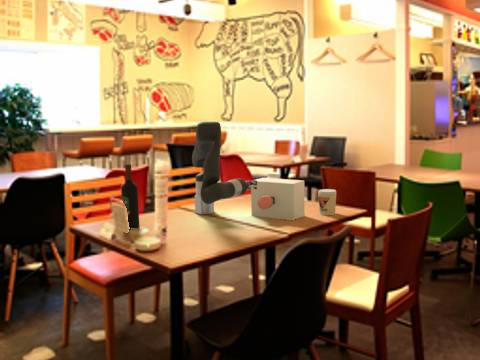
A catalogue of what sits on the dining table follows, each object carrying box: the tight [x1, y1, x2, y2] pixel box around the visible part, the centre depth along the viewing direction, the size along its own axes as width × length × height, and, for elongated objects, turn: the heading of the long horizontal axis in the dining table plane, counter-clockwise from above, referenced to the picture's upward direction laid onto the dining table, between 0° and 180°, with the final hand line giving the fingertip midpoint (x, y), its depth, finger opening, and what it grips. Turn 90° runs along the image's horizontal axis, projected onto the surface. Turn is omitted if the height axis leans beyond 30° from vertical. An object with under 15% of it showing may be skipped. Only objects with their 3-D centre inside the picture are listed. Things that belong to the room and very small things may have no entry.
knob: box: [257, 195, 275, 210], centre depth 272 cm, size 10×6×6 cm, turn 146°
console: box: [250, 177, 306, 221], centre depth 280 cm, size 12×24×18 cm, turn 56°
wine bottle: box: [120, 163, 140, 230], centre depth 261 cm, size 8×8×30 cm
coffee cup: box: [317, 188, 337, 216], centre depth 283 cm, size 9×9×12 cm
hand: (255, 182), depth 261 cm, fingers closed
